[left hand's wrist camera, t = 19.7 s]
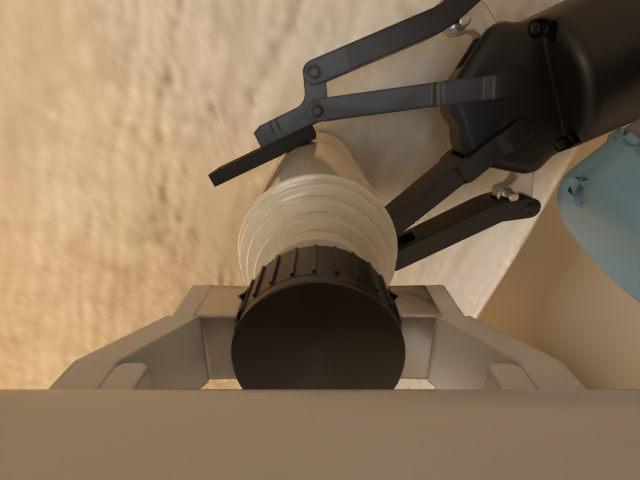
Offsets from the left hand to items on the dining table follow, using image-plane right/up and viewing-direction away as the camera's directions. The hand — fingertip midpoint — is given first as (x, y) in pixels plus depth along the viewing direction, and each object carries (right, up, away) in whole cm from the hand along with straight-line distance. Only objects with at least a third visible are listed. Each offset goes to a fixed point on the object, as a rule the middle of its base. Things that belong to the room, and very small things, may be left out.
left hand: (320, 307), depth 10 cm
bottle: (0, +7, +19) cm, 20 cm away
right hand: (-5, +3, +13) cm, 15 cm away
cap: (0, -1, -2) cm, 2 cm away
